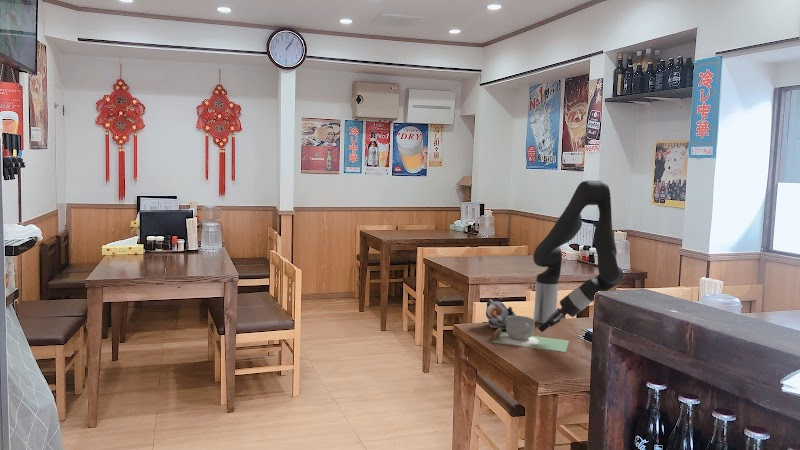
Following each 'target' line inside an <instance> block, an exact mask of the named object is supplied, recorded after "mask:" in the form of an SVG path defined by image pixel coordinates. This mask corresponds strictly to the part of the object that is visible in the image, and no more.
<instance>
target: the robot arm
mask: <svg viewBox="0 0 800 450" xmlns="http://www.w3.org/2000/svg"><path fill="white" fill-rule="evenodd" d="M587 206H597V208H598V212H599V215H598V216H599V217H598V220H597V223H596V226H595V229H594V233H593V240H594V241H593V242H594V246H595V251H596V255H597V270H598V275H596V276H595V277H593V278H589V279H587V280H586V281H584V282H583V283H582V284H581V285H580V286H578V287H576V288H575V289H574V290H572V291H571V292H569V293H568V294H567V295H566V296H564V297H563V298H562V299H560V301H559V305H560V306H561V307H560V308H559V307H558V306H557V305H558V291H559V288H558V287H559V280H560V278H561V269H562V260H563V252H562V249H561V246H563V245H565V244H567V243H569V242H570V241H571V240H573V239H574V238H575V237H576V235H577V234H578V233H579V231H580V230H581V228H582V225H583V220H582V214H581V213H582V212H583V209H584V208H586V207H587ZM612 221H613V220H612V201H611V190H610V186H609V185H608V183H607V182H606V181H604V180H584V181H581V182H580V183H579V184H578V185H577V187H576V189H575V191H574V193H573V195H572V196H571V199H570V201H569V202H568V204H567V206H566V207H565V208H564V211H563V212H562V214H561V215H560V216H559V218H558V219H557V221H556V222H555V224H554V225H553V227H552V228H551V230H550V231H549V232H548V234H547V235H546V236H545V238H544V239H543V240H542V241H540V243H539V244H538V245H537V247H536V248H535V250H534V252H533V256H532V257H533V259H532V260H533V262H534V264H535V265H536V266H538V267H541V268H546V269H545V271H542V272H541V273H538V274H537V275H536V280H535V281H536V283H535V297H534V308H533V310H534V311H533V312H534V313H533V319H534V320H535V323H540V325H539V326H538V330H539V331H540V333H544V331H546V330H547V329H548V328H551V327H553V326H555V325H557V324H558V323H560V322H561V321H563V320H564V319H566V315H568V316H570V317H571V318H574V317H576V316H577V315H579V313H581V312H582V311H583V310H584V309H586V308H588V306H589V305H590V304H591V303H592V302H593V301H595V300H594V295H595V293H596V292H598V291H606V292H607V291H609V290H610V289H611V290H612V288H614V287H616V286H617V285H618V284H620V282H622V280H623V278H624V271H623V270H622V269H621V267H619V265H618V262H617V252H618V251H617V246H616V245H617V244H616V241H615V236H614V230H613V222H612ZM557 307H558V308H557Z"/></svg>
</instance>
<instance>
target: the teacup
mask: <svg viewBox="0 0 800 450" xmlns="http://www.w3.org/2000/svg"><path fill="white" fill-rule="evenodd" d="M535 323H536V322H535V320H534V318H531V317H528V316H523V315H516V316H515V315H511V316H507V322H506V330H505V331H506V333H507V334H508V335H509V336H510V337H511V338H513V339H517V340H527V339H528V338H530V337H531V336H534V331H535Z"/></svg>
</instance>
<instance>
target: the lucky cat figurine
mask: <svg viewBox="0 0 800 450" xmlns="http://www.w3.org/2000/svg"><path fill="white" fill-rule="evenodd" d="M486 301H487V302H486V309H485V316H486V318H487V319H488V325H489V328H490V329H498V328H499V327H501V328H502V330H505V331H506V322H507V316H511V315H515V316H517V314H516V313H515V312H514V311H513V307H511V306H508V308H507V306H506V305H505V304H504V303H503V302H502V301H499V300H495V301H494V300H493V299H491V298H489V299H487V300H486Z"/></svg>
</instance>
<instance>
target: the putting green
mask: <svg viewBox="0 0 800 450" xmlns="http://www.w3.org/2000/svg"><path fill="white" fill-rule="evenodd" d="M502 330H503V329H502V328H501V327H499V328H496V329H495V332H494V333H493V335H492V341H491V343H493V342H494V343H493V344H500V345H508V346H515V347H524V348H530V349H531V348H533V349H538V350H545V351H555V352H561V353H566V352H567V350H568V349H567V348H568V347H569V346H568V345H569V343H570V342H569V341H570V340H569V339H561V338H560V339H559V338H551V337H546V336H545V337H544V336H537V335H536V336H535V335H532V336H531V337H530V338H528V339H527V340H517V339H513V338H511V337H510V336H509V335H508V334H507V332H505V331H502Z"/></svg>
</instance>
